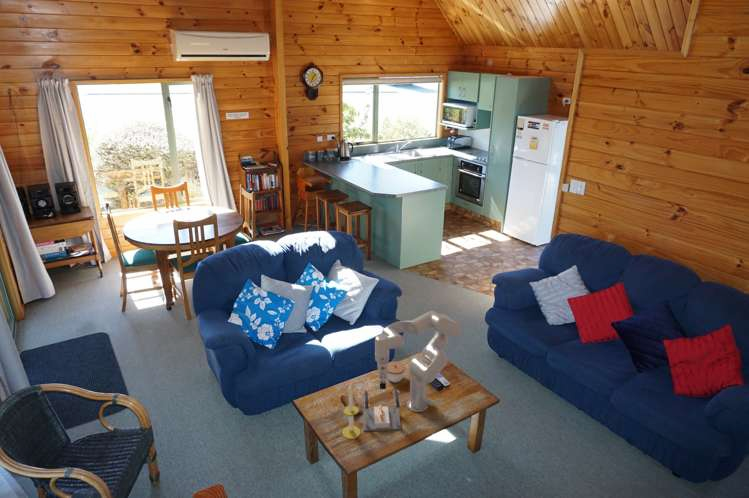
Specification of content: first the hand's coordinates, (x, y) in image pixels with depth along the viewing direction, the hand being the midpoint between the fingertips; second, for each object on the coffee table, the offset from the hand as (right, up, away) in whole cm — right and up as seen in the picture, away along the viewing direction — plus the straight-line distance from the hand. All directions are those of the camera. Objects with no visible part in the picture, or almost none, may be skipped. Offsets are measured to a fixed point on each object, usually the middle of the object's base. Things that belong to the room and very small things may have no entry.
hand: (382, 383), depth 280 cm
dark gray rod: (+8, -10, +4) cm, 14 cm away
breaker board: (0, -24, +9) cm, 25 cm away
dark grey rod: (-9, -11, +4) cm, 14 cm away
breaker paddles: (0, -20, +8) cm, 21 cm away
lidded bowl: (+9, -9, +45) cm, 47 cm away
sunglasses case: (-17, -20, +21) cm, 33 cm away
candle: (-17, -27, 0) cm, 32 cm away
